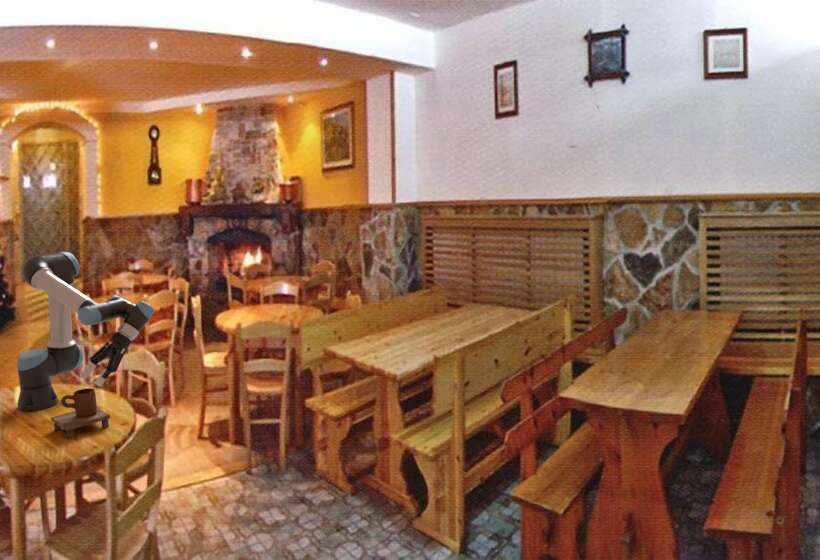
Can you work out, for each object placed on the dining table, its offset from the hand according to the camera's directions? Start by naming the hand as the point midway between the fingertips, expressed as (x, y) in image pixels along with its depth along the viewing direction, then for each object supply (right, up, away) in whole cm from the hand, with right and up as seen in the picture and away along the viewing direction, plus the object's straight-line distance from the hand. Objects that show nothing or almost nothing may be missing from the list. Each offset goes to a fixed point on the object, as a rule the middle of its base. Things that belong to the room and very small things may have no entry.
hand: (89, 381), depth 252 cm
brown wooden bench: (-3, -18, 0) cm, 18 cm away
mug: (-3, -13, 0) cm, 14 cm away
